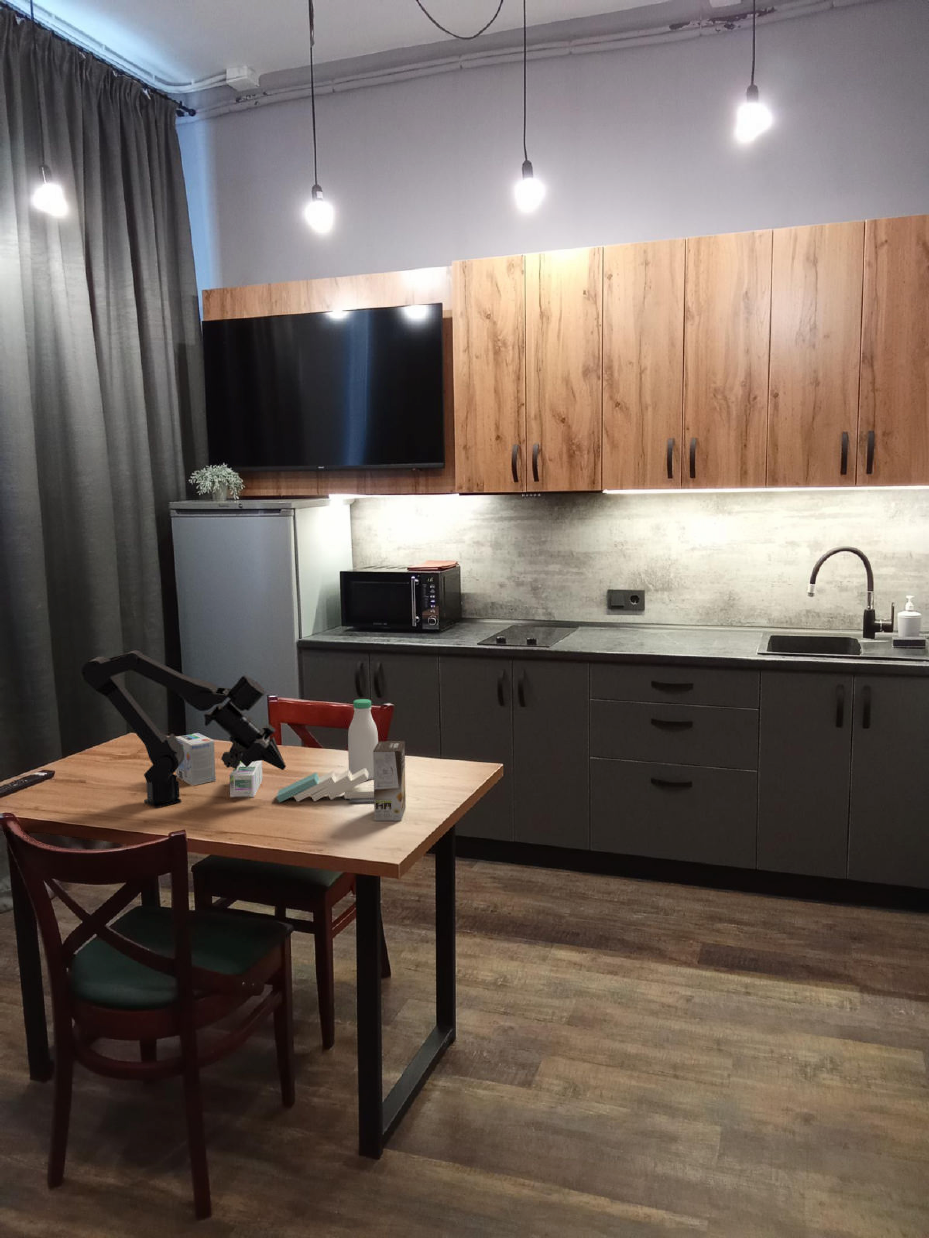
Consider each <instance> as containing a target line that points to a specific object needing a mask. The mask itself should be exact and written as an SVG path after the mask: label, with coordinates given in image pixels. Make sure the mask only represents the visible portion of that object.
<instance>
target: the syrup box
mask: <svg viewBox="0 0 929 1238" xmlns="http://www.w3.org/2000/svg"><path fill="white" fill-rule="evenodd" d="M232 769H233V770H231V772H230V774H229V796H230V798H254V797H255V796H256V793H257V791H258V790H259V788H260V785H261V783H262V781H263V761H262V760H261V761H255V762H252V763H251V764H250V765H249V766H248V767H246V766H245V765H244V764H243V763H242V762H241V761H240V763H239V765H238V766H237V768H236V769H235V768H232Z"/></svg>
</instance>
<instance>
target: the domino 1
mask: <svg viewBox="0 0 929 1238" xmlns="http://www.w3.org/2000/svg"><path fill="white" fill-rule="evenodd" d="M319 778H320V776H319V775H318V773H317V772H314V773H312V774H310V775H308V776H306V777H304V778H301V779H299V780H298V781H295V782H293V783H291V784H289V785H287V786H285V787H283V788H281V789H279V790H278V791H277V794H276V796H275V797H276V799H277V801H278V803H282V802H283V801H286V800H288V799H290V798H292V797H294V795H296V794H298V793H300V792H302V791H304V790H306V789H309V788H311V787H313V786H315V785H317V784H318V780H319Z"/></svg>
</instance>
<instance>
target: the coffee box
mask: <svg viewBox="0 0 929 1238" xmlns="http://www.w3.org/2000/svg"><path fill="white" fill-rule="evenodd" d="M405 745H406V743H405V740H387V741H378V743H377V745H376V747H375V748H374V750H373V762H374V778H373V785H374V803H373V809H374V813H373V814H374V820H373V821H377V822H378V821H380V822H383V821H384V822H385V821H389V822H390V821H391V822H392V821H394V822H395V821H397V822H400V821H402V820H403V817H404V813H405V811H406V806H407V805H406V803H407V800H406V799H407V798H406V746H405Z"/></svg>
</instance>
